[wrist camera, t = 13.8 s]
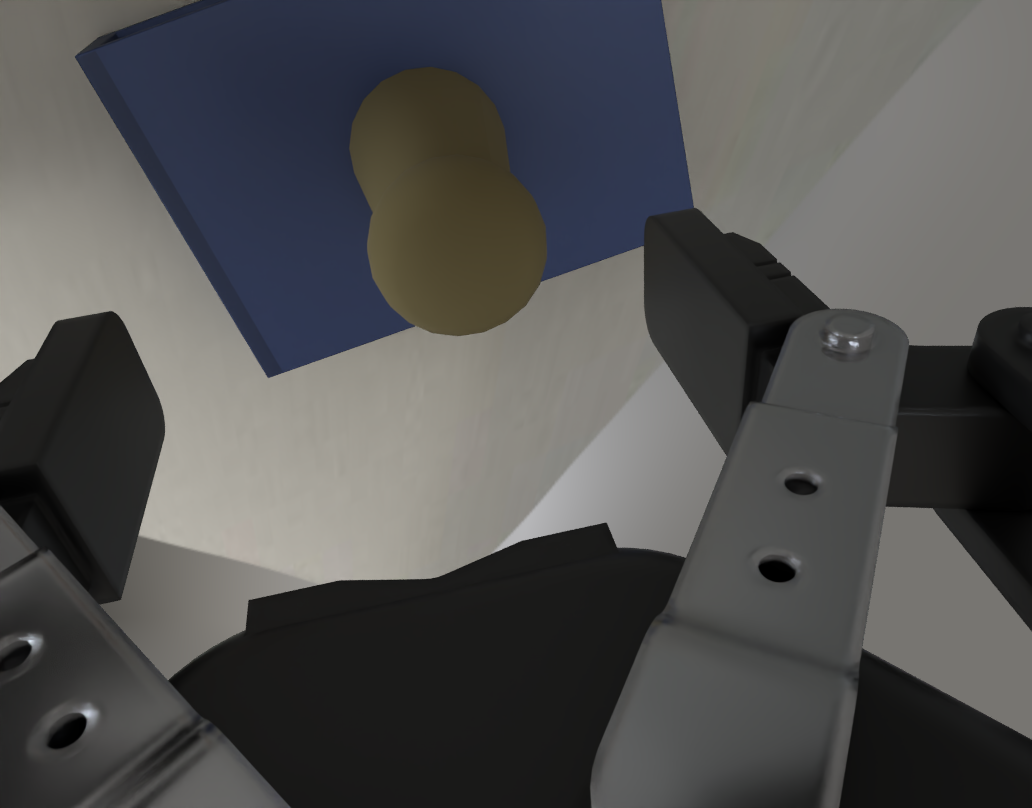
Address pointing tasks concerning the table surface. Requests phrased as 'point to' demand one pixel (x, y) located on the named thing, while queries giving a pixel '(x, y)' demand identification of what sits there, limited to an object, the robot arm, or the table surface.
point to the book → (327, 130)
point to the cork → (445, 204)
